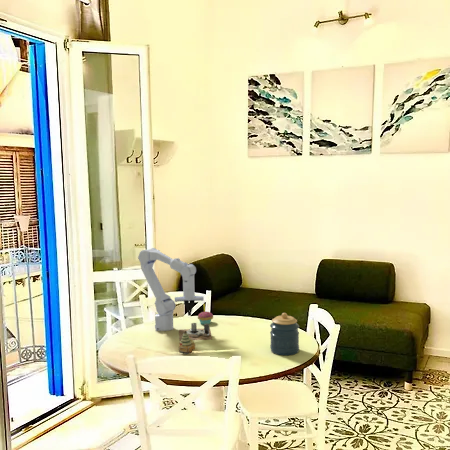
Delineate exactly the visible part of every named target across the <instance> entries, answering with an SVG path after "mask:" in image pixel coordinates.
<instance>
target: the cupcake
mask: <svg viewBox="0 0 450 450" xmlns="http://www.w3.org/2000/svg"><path fill="white" fill-rule="evenodd" d="M205 304H206V303H203V311H201V312H200V313H198V315H197V319H198V320H199V322H200V324H201V325H204V324H209V325H210V324H211V321H212V320H213V319H214V315H213V313H212V312H211V311H206V305H205Z"/></svg>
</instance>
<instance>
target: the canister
mask: <svg viewBox="0 0 450 450" xmlns="http://www.w3.org/2000/svg"><path fill="white" fill-rule="evenodd" d="M271 321H272V323H270V325H269V326H270V329H271V330H270V332H269V333H270V348H269V349H270V352H271V353H273V354H275V355H278V356H294V355H296V354H298V353H299V352H300V351H299V349H300V345H299V340H300V339H299V337H300V333H299V328H300V325H299V324H298V323H297V322H298V320H297V319H296V318H295V317H294V316H291V315H288V314H287V313H286V312H282V313H281V315H278V316H275V317H274V318H272V319H271Z"/></svg>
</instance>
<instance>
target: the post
mask: <svg viewBox="0 0 450 450" xmlns="http://www.w3.org/2000/svg"><path fill="white" fill-rule="evenodd" d="M190 325H191V326H190V327H191V328H190V329H191V332H192V333H197V329H198V328H197V326H198V325H197V323H196V322H192V323H190Z"/></svg>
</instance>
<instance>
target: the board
mask: <svg viewBox="0 0 450 450" xmlns="http://www.w3.org/2000/svg"><path fill="white" fill-rule="evenodd" d="M197 329H198V330H204V328H197ZM188 330H189V328H187V329H178V336H179V337H178V341H179V342H181V339H182V336H183V333H184V332H185V331H188ZM209 334H210V335H209V336H199V337H191V336H189V337H191V339H192V340H193V341H208V340H213V336H212V332H211V328H210V327H209Z"/></svg>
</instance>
